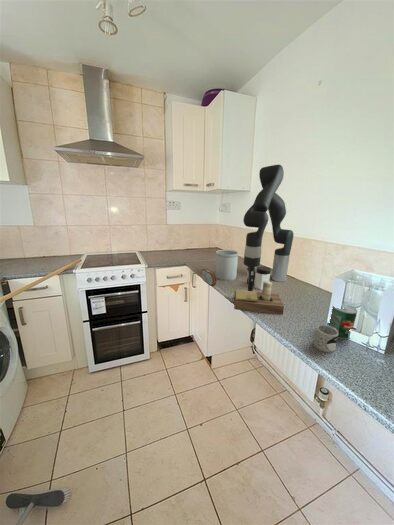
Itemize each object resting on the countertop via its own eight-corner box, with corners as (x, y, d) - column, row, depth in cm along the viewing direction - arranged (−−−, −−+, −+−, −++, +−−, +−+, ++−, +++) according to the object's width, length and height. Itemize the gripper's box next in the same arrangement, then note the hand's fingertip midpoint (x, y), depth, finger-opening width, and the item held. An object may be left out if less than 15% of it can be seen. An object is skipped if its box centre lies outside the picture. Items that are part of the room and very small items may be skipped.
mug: (329, 355, 73) (332, 338, 71) (309, 344, 78) (312, 328, 76) (342, 345, 78) (346, 328, 76) (323, 335, 84) (327, 320, 82)
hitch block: (234, 297, 116) (234, 290, 115) (277, 301, 112) (278, 294, 111) (234, 309, 102) (234, 301, 101) (282, 314, 99) (284, 306, 98)
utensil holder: (215, 280, 139) (217, 254, 134) (213, 273, 153) (214, 249, 148) (238, 281, 139) (240, 254, 134) (234, 273, 153) (236, 249, 149)
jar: (257, 290, 126) (259, 270, 122) (251, 285, 133) (253, 266, 130) (271, 289, 127) (274, 270, 124) (265, 284, 135) (267, 266, 131)
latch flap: (235, 291, 113) (235, 289, 113) (255, 291, 111) (255, 290, 111) (235, 300, 103) (235, 298, 102) (257, 301, 101) (257, 299, 101)
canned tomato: (330, 325, 91) (335, 301, 88) (352, 333, 86) (359, 308, 83) (325, 333, 85) (330, 307, 82) (348, 342, 80) (355, 315, 77)
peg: (260, 303, 109) (263, 281, 106) (268, 304, 108) (271, 281, 105) (261, 307, 105) (263, 284, 102) (269, 308, 104) (272, 284, 101)
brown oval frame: (216, 287, 128) (217, 273, 126) (212, 288, 127) (212, 274, 125) (204, 279, 141) (205, 266, 139) (200, 279, 140) (201, 267, 138)
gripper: (243, 251, 108) (241, 281, 113) (245, 258, 95) (242, 292, 99) (259, 252, 107) (256, 282, 112) (262, 259, 94) (258, 294, 98)
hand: (249, 287), depth 106 cm, fingers open, 8 cm apart
